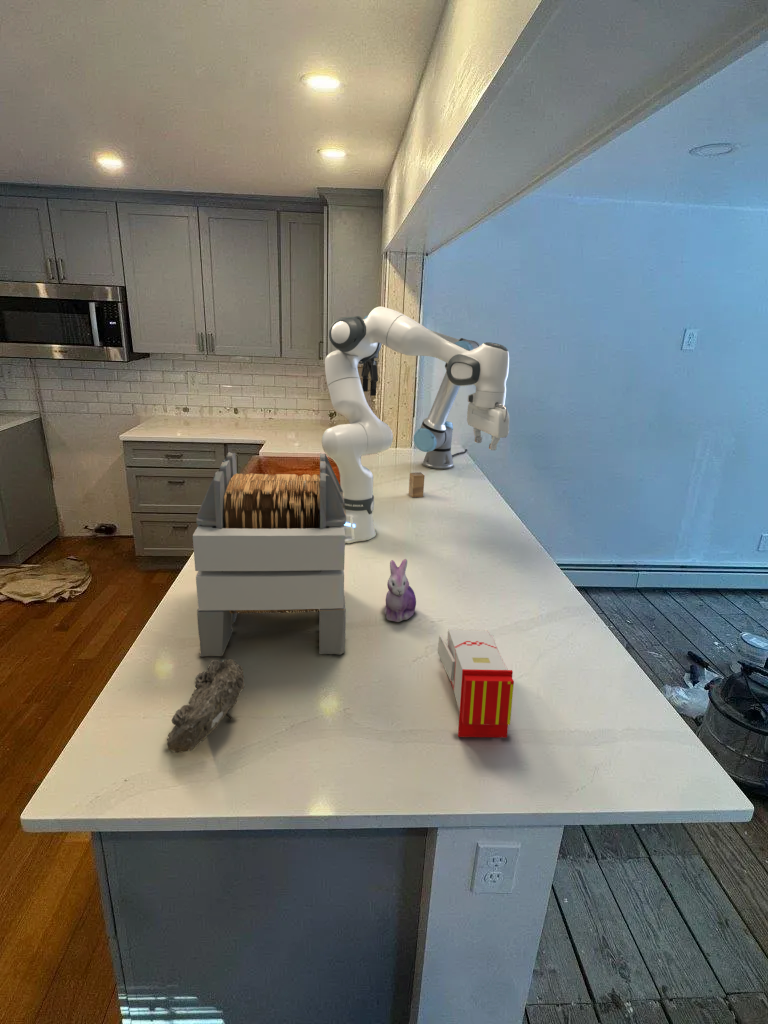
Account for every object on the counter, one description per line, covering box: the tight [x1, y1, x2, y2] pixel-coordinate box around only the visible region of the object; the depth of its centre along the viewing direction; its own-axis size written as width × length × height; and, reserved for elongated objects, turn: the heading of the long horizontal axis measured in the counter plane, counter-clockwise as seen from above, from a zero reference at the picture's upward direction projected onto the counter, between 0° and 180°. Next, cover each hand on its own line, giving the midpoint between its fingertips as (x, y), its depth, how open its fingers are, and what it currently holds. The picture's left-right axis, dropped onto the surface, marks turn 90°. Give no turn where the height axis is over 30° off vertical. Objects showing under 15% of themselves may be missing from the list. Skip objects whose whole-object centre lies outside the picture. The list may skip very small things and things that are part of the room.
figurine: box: [384, 558, 417, 623], centre depth 145 cm, size 9×10×15 cm
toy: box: [437, 628, 515, 738], centre depth 117 cm, size 12×13×30 cm
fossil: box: [166, 658, 245, 754], centre depth 106 cm, size 22×10×15 cm
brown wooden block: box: [408, 471, 426, 499], centre depth 240 cm, size 5×5×10 cm
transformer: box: [192, 452, 347, 658], centre depth 136 cm, size 34×33×41 cm
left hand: (484, 446), depth 172 cm, fingers open, 8 cm apart
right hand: (368, 393), depth 283 cm, fingers open, 13 cm apart
